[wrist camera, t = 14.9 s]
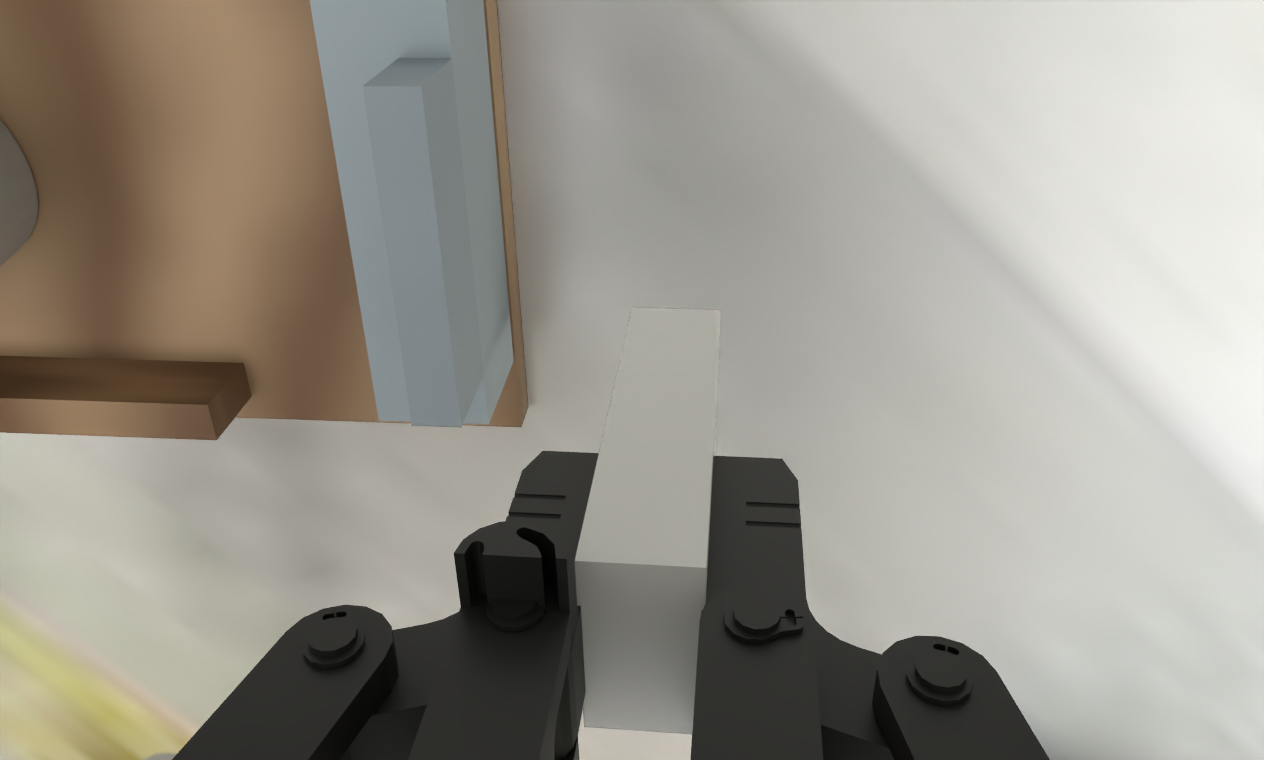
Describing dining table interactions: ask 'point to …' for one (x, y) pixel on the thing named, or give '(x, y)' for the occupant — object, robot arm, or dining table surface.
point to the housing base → (188, 223)
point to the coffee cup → (15, 196)
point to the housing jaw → (420, 201)
